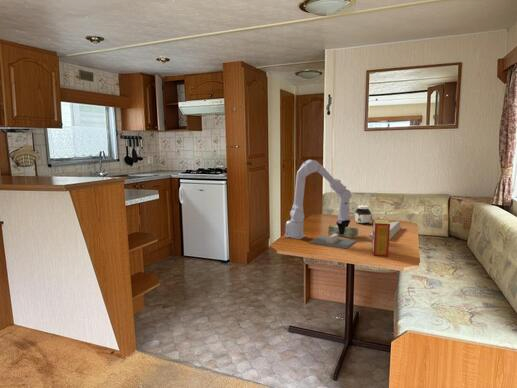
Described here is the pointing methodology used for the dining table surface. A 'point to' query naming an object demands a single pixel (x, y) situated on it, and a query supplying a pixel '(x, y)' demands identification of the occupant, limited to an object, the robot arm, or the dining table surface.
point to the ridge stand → (333, 241)
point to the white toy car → (363, 215)
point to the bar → (347, 233)
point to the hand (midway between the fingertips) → (342, 233)
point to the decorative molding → (391, 229)
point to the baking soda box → (380, 237)
